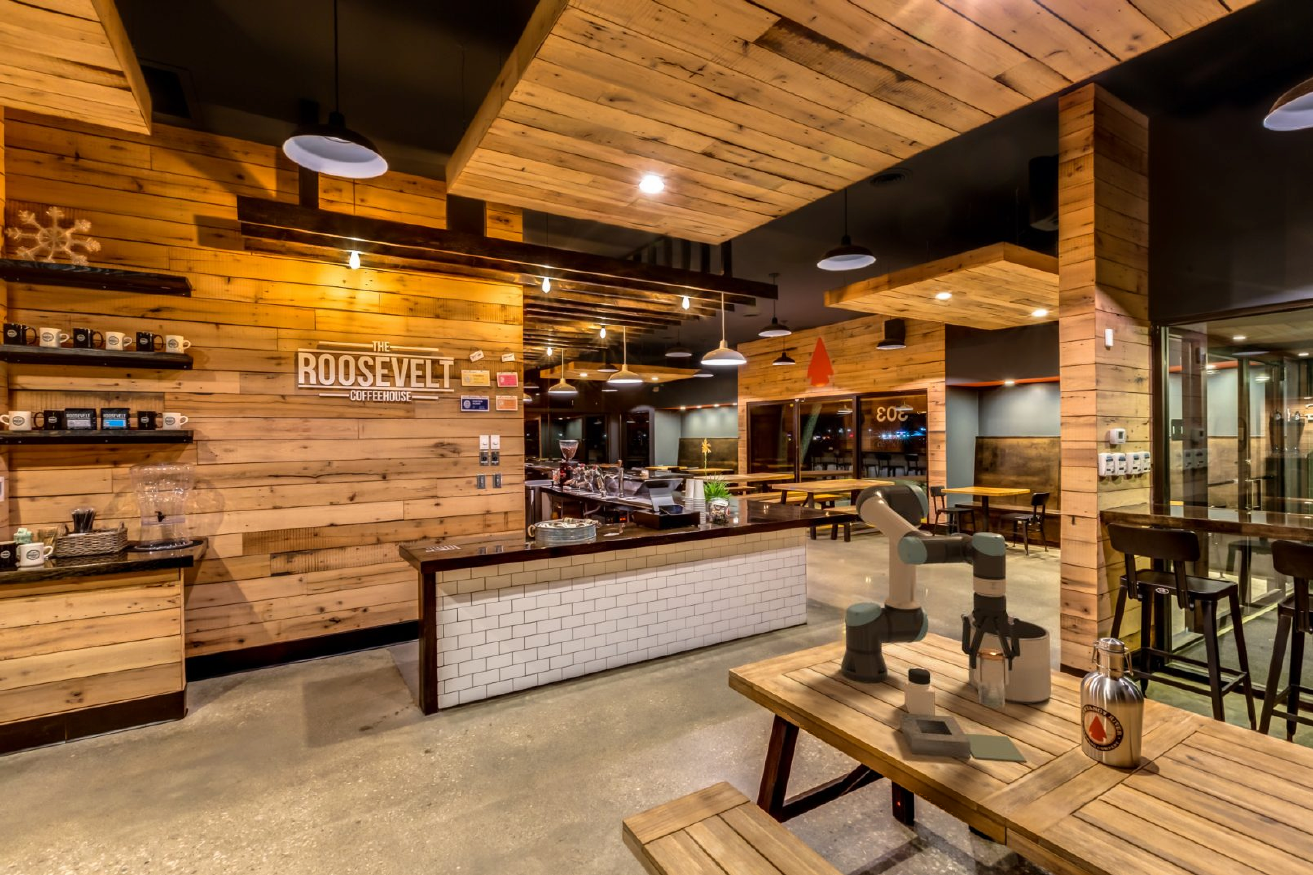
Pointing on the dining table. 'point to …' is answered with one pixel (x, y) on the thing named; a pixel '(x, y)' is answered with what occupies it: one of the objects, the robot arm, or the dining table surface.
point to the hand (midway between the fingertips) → (991, 681)
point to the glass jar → (991, 678)
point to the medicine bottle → (919, 692)
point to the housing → (934, 735)
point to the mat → (994, 748)
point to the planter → (1022, 662)
